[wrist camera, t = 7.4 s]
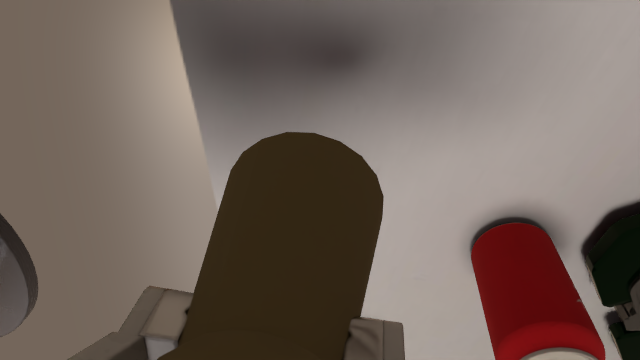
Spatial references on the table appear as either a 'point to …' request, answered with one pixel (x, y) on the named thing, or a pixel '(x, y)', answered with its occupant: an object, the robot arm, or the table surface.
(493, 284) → the beverage can
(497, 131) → the table surface
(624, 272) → the flat green button pad
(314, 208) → the cork
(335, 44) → the table surface
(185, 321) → the robot arm
